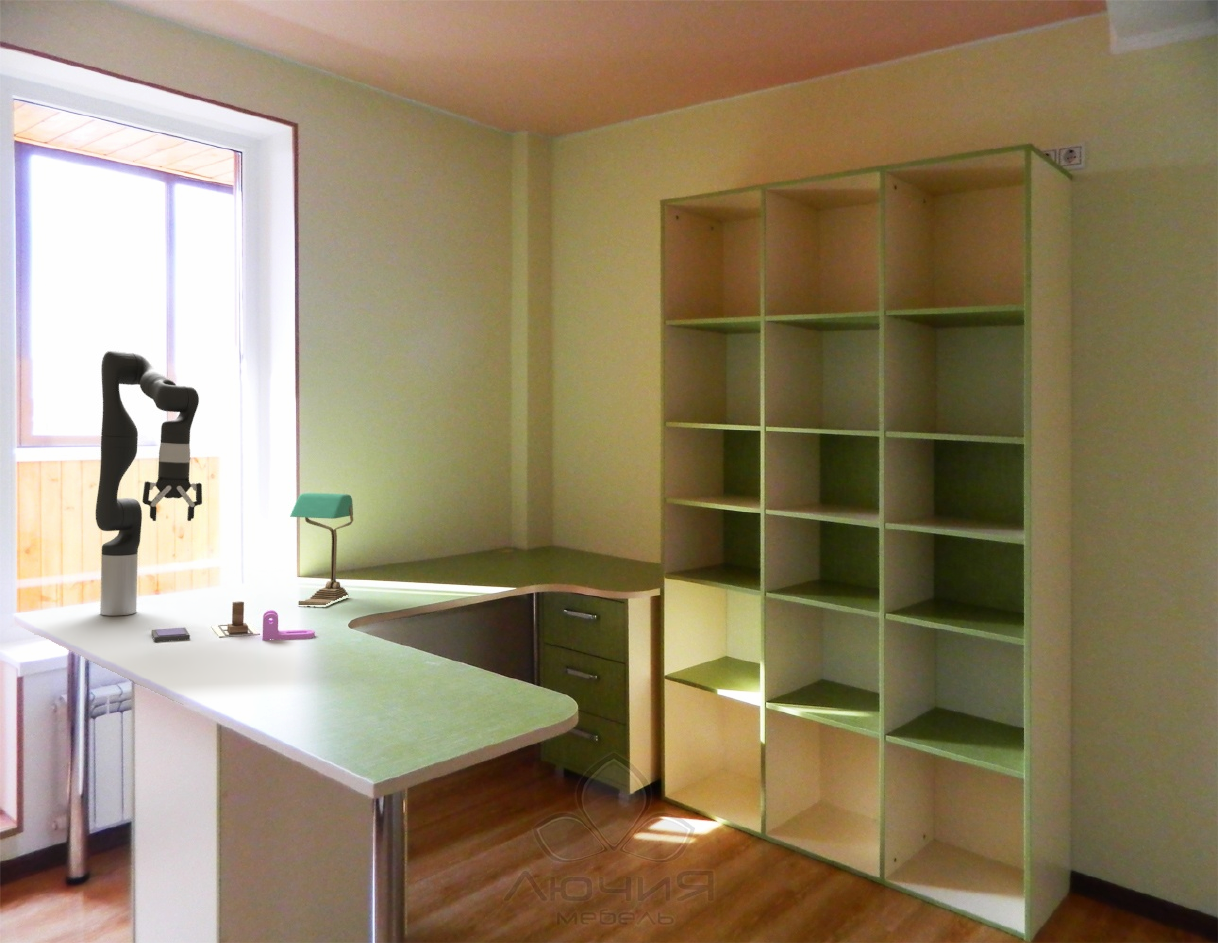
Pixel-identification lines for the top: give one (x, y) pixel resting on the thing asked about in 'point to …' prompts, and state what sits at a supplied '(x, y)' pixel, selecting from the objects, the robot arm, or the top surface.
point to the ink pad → (170, 634)
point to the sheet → (222, 632)
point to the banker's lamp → (331, 508)
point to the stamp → (237, 620)
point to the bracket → (273, 633)
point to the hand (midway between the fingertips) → (171, 520)
